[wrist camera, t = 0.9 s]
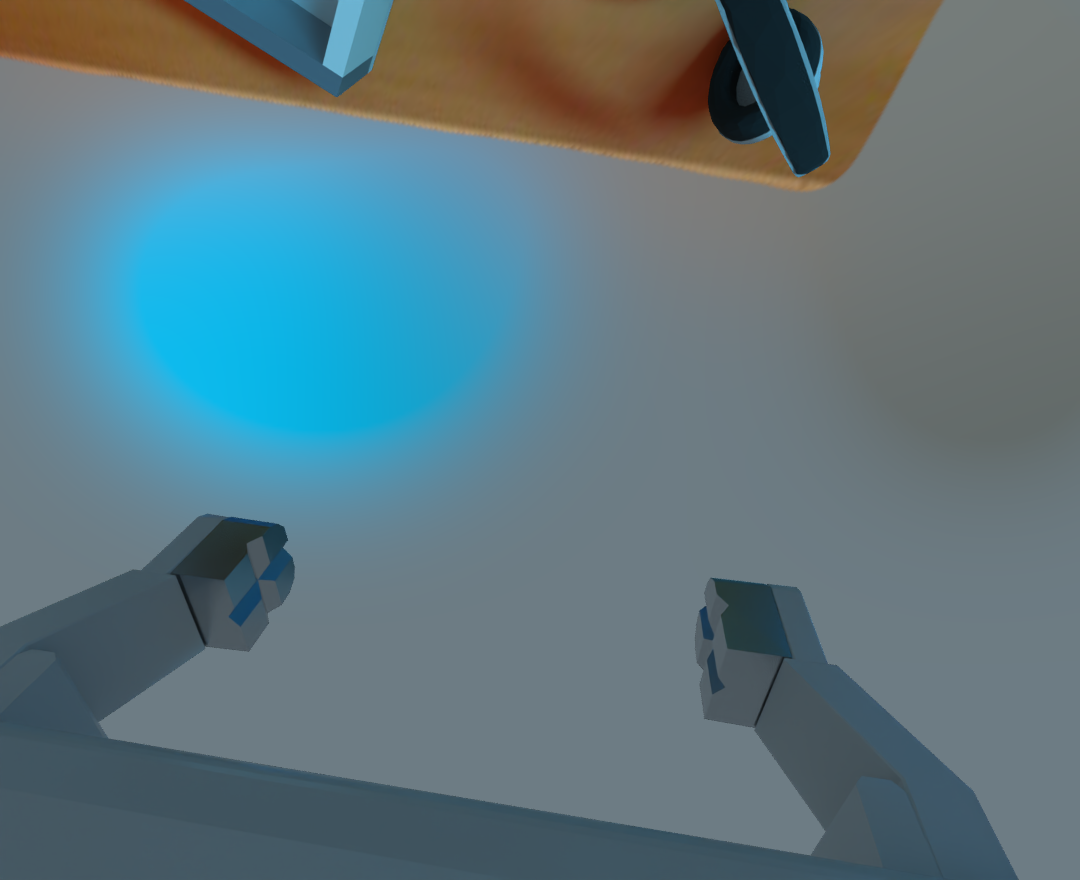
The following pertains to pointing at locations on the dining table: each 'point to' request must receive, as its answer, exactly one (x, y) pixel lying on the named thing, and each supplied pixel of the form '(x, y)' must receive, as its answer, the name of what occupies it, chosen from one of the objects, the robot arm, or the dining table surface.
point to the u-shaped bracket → (309, 34)
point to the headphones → (770, 81)
